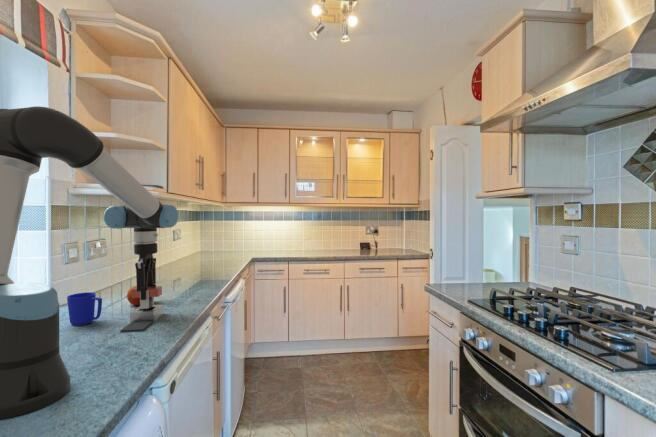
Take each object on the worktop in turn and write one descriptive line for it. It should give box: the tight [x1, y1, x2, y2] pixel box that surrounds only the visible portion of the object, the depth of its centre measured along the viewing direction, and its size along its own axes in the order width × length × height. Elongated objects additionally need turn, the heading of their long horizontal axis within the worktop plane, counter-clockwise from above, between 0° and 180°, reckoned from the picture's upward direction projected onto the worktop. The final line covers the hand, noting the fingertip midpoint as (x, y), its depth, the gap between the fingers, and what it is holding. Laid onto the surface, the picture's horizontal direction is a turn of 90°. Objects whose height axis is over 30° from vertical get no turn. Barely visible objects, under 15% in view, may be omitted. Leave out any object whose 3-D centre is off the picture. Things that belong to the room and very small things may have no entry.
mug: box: [66, 292, 103, 326], centre depth 122 cm, size 8×12×10 cm
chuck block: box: [129, 304, 165, 324], centre depth 127 cm, size 10×8×4 cm
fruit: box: [126, 285, 140, 306], centre depth 147 cm, size 11×10×8 cm
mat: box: [120, 321, 154, 333], centre depth 118 cm, size 9×7×1 cm
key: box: [132, 285, 163, 311], centre depth 127 cm, size 4×9×10 cm, turn 97°
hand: (147, 306), depth 127 cm, fingers closed on key, 4 cm apart
